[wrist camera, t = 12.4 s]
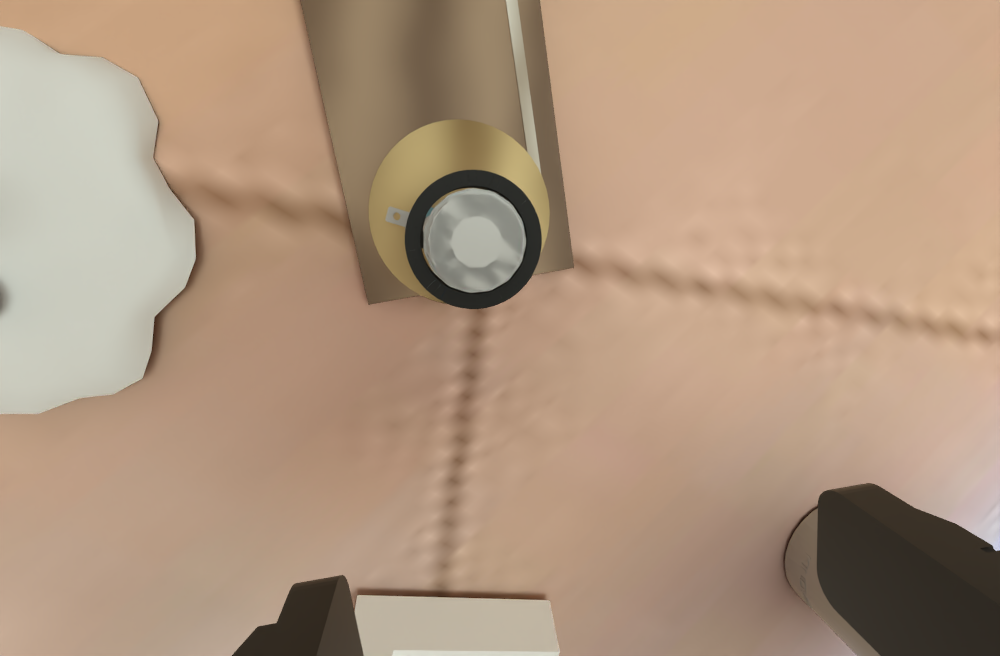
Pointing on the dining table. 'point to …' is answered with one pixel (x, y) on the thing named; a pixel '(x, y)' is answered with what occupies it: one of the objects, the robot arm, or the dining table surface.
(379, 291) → the gauge board
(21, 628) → the dining table surface
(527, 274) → the push button
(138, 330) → the figurine
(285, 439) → the dining table surface
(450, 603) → the bracket
